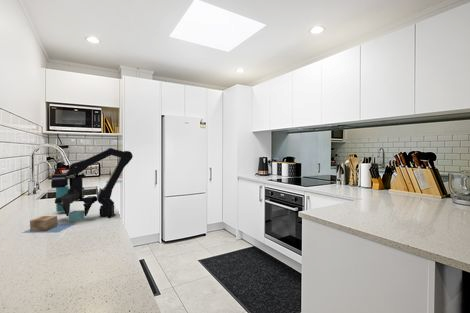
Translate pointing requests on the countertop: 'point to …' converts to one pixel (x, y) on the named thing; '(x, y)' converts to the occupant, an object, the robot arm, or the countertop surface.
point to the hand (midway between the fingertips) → (76, 215)
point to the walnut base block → (43, 223)
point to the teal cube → (76, 215)
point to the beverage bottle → (60, 193)
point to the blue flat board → (53, 230)
